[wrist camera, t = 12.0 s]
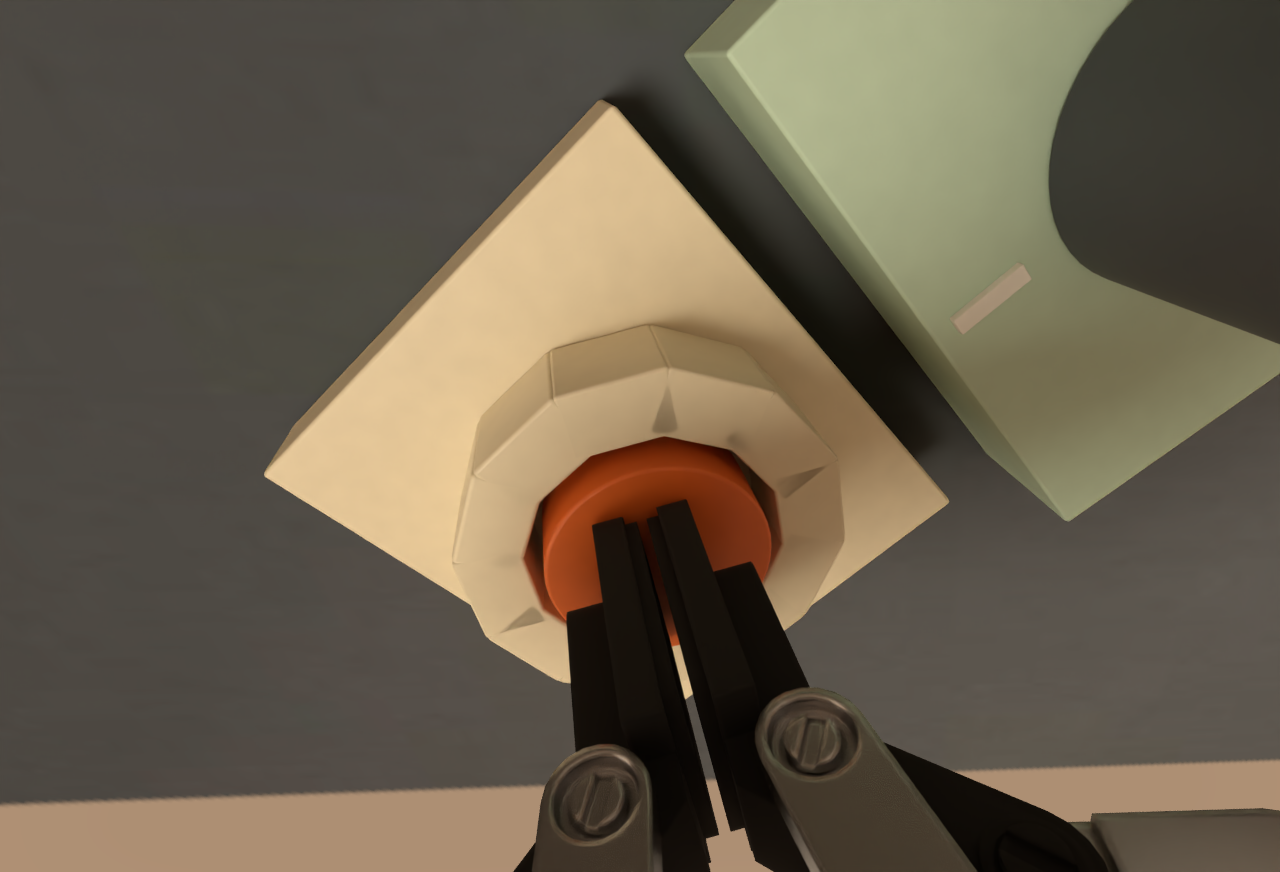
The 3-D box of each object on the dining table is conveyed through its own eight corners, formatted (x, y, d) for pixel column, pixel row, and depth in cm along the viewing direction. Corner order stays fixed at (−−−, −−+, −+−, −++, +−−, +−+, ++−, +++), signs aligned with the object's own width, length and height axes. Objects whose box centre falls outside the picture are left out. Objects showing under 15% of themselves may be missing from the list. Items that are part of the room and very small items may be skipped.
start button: (497, 516, 13) (493, 577, 11) (652, 375, 12) (670, 421, 10) (639, 617, 15) (652, 681, 13) (784, 502, 14) (816, 557, 12)
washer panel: (681, 54, 12) (727, 53, 9) (1207, -496, 10) (1480, -718, 7) (986, 454, 17) (1073, 528, 14) (1373, 162, 15) (1563, 185, 12)
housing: (293, 425, 14) (217, 543, 11) (601, 97, 12) (630, 112, 9) (644, 662, 19) (671, 796, 16) (908, 457, 17) (1006, 559, 13)
